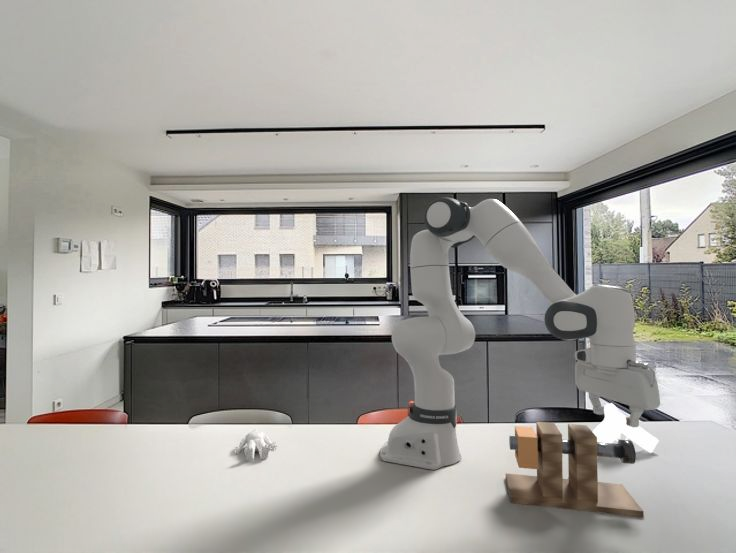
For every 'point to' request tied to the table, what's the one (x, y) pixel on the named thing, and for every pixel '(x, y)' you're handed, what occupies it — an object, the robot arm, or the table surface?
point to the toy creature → (255, 445)
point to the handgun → (622, 430)
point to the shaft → (611, 450)
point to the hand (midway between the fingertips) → (614, 419)
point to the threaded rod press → (570, 477)
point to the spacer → (526, 448)
